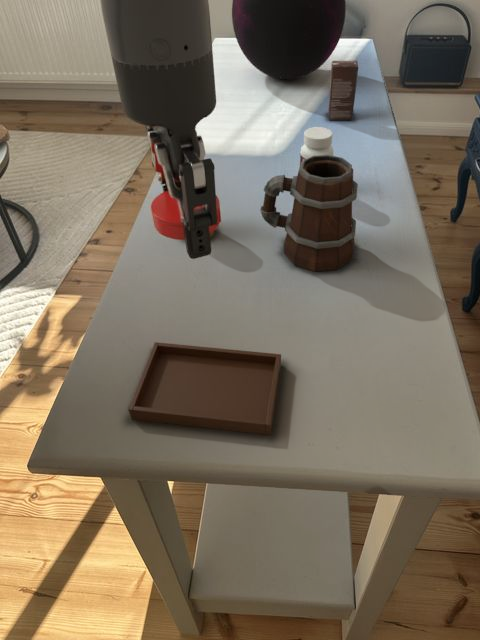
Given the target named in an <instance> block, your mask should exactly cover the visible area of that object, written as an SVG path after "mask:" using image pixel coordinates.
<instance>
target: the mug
mask: <svg viewBox="0 0 480 640" xmlns="http://www.w3.org/2000/svg"><path fill="white" fill-rule="evenodd" d="M263 191H264V196H263V197H264V198H263V204H262V205H261V206H260V209H259V211H260V213H261V217H262V218H263V220H264V222H266V223H267V224H268V225H269V226H271V227H273V228H274V229H276V228H277V227H278V228H283V229H284V231H285V232H286V234H285V239H284V242H283V254H284V255H285V256H286V257H287V259H288V260H289V261H290V262H291V263H292V264H293V265H294V266H297V267H300V268H303V269H306V270H310V271H314V272H323V271H331V270H338V269H340V268H341V267H343V266H344V265H346V264H347V263H349V262H350V261H353V256H354V249H355V236H356V229H357V220H356V219H355V218H354V217H353V201H355V200H356V199H358V183H357V182H356V180H354V168H353V165H352V163H350V162H349V161H347V160H346V159H345V158H344V157H341V156H336V155H333V156H332V155H318V156H312V157H310V158H308V159H306V160H304V161H302V163H301V165H300V164H299V168H298V172H297V175H294V176H293V177H292V178H291V177H286V175H285V174H282V175H281V174H280V175H275V176H273V177H271V178H270V179H269V180H268V181H267V182H266V185H264V188H263ZM284 192H289V195H291V196H292V197H293V198H294V199H293V204H292V211H291V213H288V214H287V215H284V214H281V212H280V211H277V207H276V202H277V197H279V195H280V193H284Z"/></svg>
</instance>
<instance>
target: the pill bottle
mask: <svg viewBox="0 0 480 640" xmlns="http://www.w3.org/2000/svg"><path fill="white" fill-rule="evenodd" d="M332 144H333V132H332V130H330V129H329V128H328V127H327V128H326V127H323V126H322V127H321V126H314V127H313V126H312V127H309V128H307V129H306V130H304V133H303V144H302V146H301V148H300V153H299V166H300V165H301V163H302V161H304V160H306V159H308V158H310V157H312V156H318V155H332V156H334V148H333V146H332Z"/></svg>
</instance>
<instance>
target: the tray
mask: <svg viewBox="0 0 480 640" xmlns="http://www.w3.org/2000/svg"><path fill="white" fill-rule="evenodd" d="M281 366H282V354H281V353H270V352H260V351H251V350H240V349H239V350H238V349H230V348H219V347H208V346H199V345H188V344H177V343H168V342H167V343H166V342H158V341H155V342H154V343H153V346H152V348H151V351H150V353H149V356H148V358H147V361H146V363H145V366H144V369H143V370H142V373H141V376H140V378H139V381H138V383H137V385H136V388H135V390H134V393H133V396H132V398H131V400H130V403H129V406H128V409H127V410H128V413H129V416H130V419H131V420H134V421H135V420H136V421H142V422H153V423H162V424H169V425H179V426H187V427H198V428H205V429H206V428H207V429H213V430H223V431H233V432H240V433H241V432H242V433H250V434H259V435H267V436H271V433H272V426H273V420H274V414H275V408H276V407H275V406H276V400H277V394H278V388H279V387H278V386H279V379H280V374H281V373H280V372H281V368H282V367H281Z"/></svg>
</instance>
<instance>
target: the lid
mask: <svg viewBox="0 0 480 640" xmlns="http://www.w3.org/2000/svg"><path fill="white" fill-rule="evenodd" d="M179 188H180V189H182V187H179ZM200 208H201V206H198V207H195V208H194V210H195V209H200ZM216 209H217V218H218V220H217V225H212V226H209V232H210V233H211V232H213V231H214V232H215V230H216V229H217V228H218V227H219V226H220V224H221V222H222V217H221V204H220V199H219V196H218V195H216ZM150 211H151V212H150V213H151V216H152V221H153V226H154V228H155V230H156V231H157V232H158V234H160V235H162V236H163V237H165V238H167V239H172V240H179V241H185V236H184V229H183V223H181V220H180V217H181V216H180V212H179V208H178V204H177V201H176V200H175V199H172V198H171V197H170V195H169V191H165V192H163V191H162V192H161V193H160V194H157V196H156V197H154V198H153V200H152V202H151V204H150Z"/></svg>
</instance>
